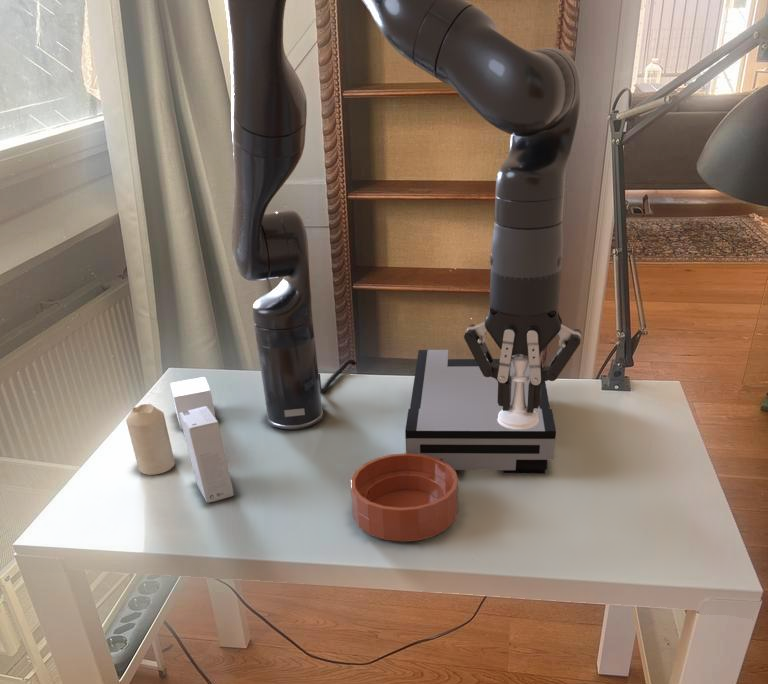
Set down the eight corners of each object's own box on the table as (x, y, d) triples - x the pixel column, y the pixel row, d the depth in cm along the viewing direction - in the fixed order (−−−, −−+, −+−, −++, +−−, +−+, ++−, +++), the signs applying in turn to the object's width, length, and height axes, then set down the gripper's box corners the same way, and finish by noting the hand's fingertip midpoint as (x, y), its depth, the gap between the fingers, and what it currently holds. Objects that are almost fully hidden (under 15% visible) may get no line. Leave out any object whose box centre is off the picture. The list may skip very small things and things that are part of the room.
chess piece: (493, 412, 97) (496, 335, 91) (533, 409, 97) (538, 332, 91) (501, 431, 93) (505, 351, 87) (543, 428, 93) (548, 348, 87)
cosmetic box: (235, 496, 113) (221, 421, 106) (205, 504, 112) (189, 429, 105) (223, 476, 118) (209, 404, 111) (194, 484, 116) (178, 411, 109)
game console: (536, 386, 138) (539, 342, 134) (551, 481, 112) (555, 431, 108) (419, 386, 141) (418, 343, 136) (406, 480, 114) (405, 430, 110)
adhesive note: (211, 408, 138) (205, 376, 134) (216, 422, 133) (210, 390, 129) (176, 414, 136) (169, 382, 133) (180, 429, 131) (173, 397, 128)
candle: (165, 476, 119) (151, 417, 113) (132, 474, 120) (116, 415, 114) (180, 458, 123) (167, 400, 118) (148, 456, 124) (134, 398, 119)
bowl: (369, 482, 114) (366, 449, 111) (465, 491, 111) (466, 457, 108) (340, 538, 103) (337, 503, 100) (447, 550, 100) (447, 514, 97)
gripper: (593, 255, 86) (579, 399, 95) (468, 252, 89) (466, 391, 99) (590, 277, 80) (575, 428, 89) (456, 273, 83) (455, 419, 93)
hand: (518, 408), depth 94 cm, fingers closed on chess piece, 2 cm apart
